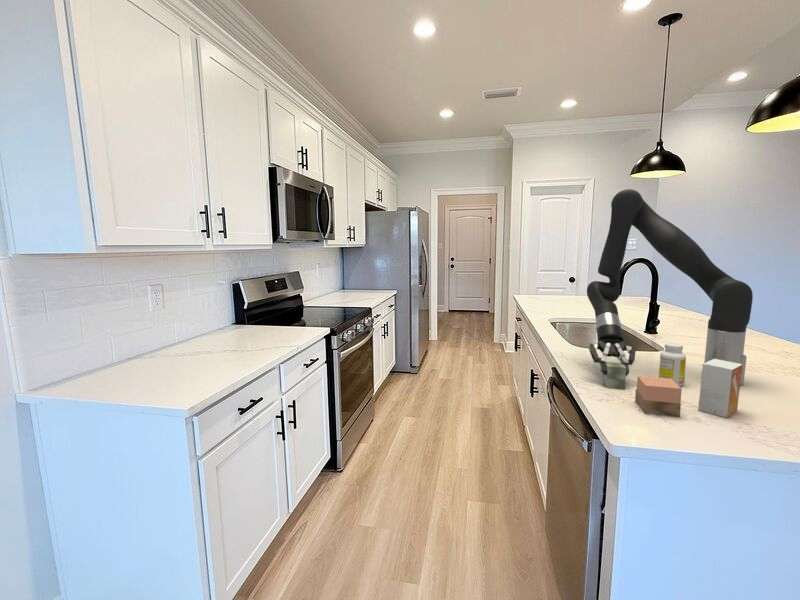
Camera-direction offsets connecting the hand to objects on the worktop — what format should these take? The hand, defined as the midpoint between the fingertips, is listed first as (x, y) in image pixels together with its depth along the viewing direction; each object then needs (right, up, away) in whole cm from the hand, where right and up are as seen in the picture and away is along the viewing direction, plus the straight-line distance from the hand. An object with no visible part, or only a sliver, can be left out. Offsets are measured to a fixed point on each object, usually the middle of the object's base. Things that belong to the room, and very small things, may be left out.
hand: (615, 374), depth 117 cm
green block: (0, -4, +2) cm, 5 cm away
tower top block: (+2, -3, -16) cm, 16 cm away
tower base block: (+2, -7, -15) cm, 17 cm away
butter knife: (+1, -8, -26) cm, 27 cm away
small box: (+18, -7, -17) cm, 25 cm away
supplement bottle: (+20, -4, +3) cm, 20 cm away
